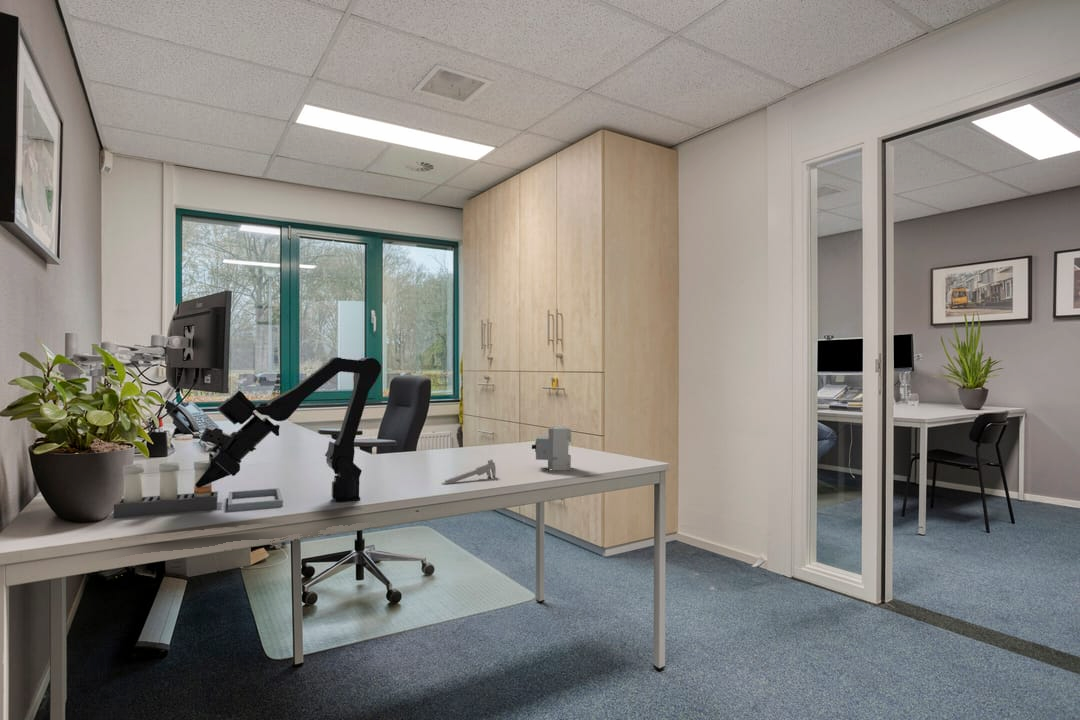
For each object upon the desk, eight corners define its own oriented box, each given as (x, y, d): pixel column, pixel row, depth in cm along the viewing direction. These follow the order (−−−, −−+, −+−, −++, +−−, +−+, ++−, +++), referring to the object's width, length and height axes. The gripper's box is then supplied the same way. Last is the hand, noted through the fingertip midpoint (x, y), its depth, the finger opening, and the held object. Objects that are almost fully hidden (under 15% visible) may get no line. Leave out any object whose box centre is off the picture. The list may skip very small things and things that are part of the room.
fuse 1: (144, 510, 136) (145, 463, 136) (141, 514, 132) (142, 466, 132) (123, 512, 134) (124, 464, 134) (120, 516, 130) (121, 467, 130)
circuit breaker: (532, 466, 214) (532, 425, 214) (570, 467, 213) (571, 426, 213) (530, 469, 206) (531, 428, 207) (570, 470, 206) (571, 429, 206)
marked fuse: (212, 504, 142) (213, 460, 142) (211, 508, 139) (212, 462, 139) (193, 506, 140) (194, 461, 140) (192, 510, 137) (193, 464, 137)
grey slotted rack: (222, 508, 145) (222, 490, 145) (221, 515, 138) (221, 497, 138) (113, 517, 135) (114, 498, 135) (106, 526, 128) (107, 506, 128)
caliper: (493, 477, 193) (493, 458, 193) (495, 477, 192) (495, 459, 192) (441, 485, 179) (441, 464, 179) (443, 485, 178) (443, 465, 178)
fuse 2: (179, 507, 139) (180, 462, 139) (177, 511, 135) (178, 464, 135) (159, 509, 137) (160, 463, 137) (157, 513, 134) (158, 465, 134)
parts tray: (279, 499, 156) (279, 488, 156) (282, 512, 142) (282, 500, 142) (228, 503, 150) (228, 491, 150) (227, 517, 137) (227, 504, 137)
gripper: (221, 412, 150) (169, 457, 144) (225, 418, 134) (167, 469, 128) (254, 440, 154) (205, 485, 148) (261, 450, 138) (207, 501, 132)
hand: (196, 485), depth 139 cm, fingers closed on marked fuse, 4 cm apart
